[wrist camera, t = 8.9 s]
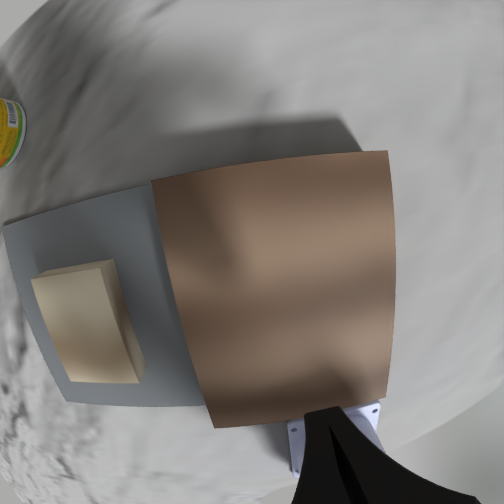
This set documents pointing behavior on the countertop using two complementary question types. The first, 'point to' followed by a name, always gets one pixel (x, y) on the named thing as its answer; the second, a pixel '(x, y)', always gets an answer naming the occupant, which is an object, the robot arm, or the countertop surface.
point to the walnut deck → (284, 282)
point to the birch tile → (90, 323)
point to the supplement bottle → (11, 131)
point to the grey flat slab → (132, 284)
